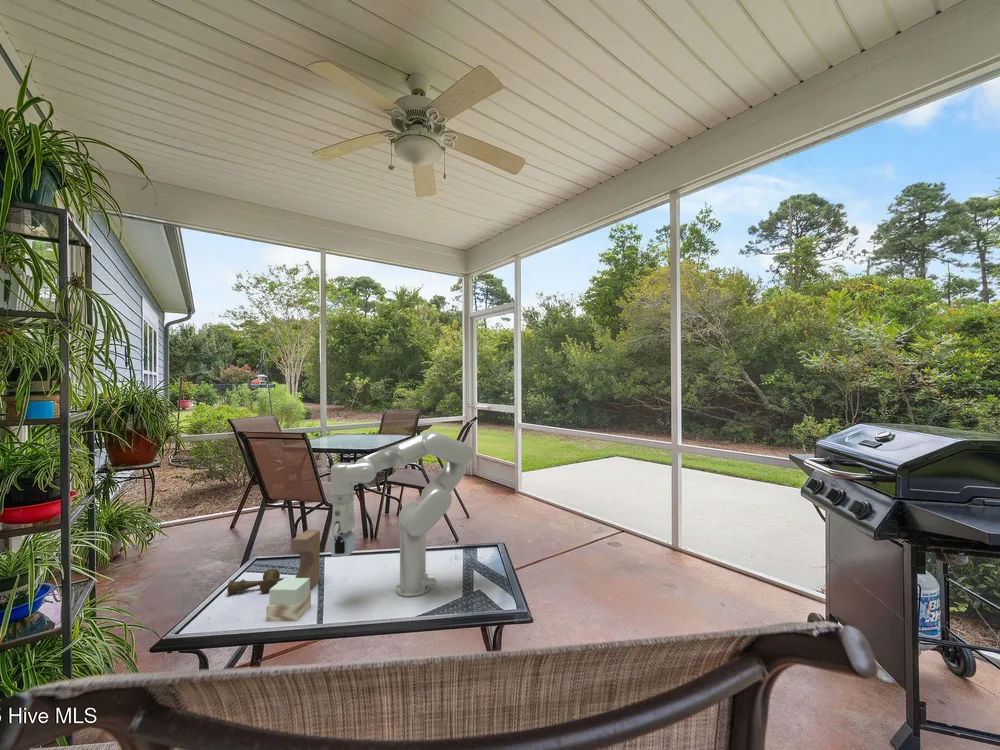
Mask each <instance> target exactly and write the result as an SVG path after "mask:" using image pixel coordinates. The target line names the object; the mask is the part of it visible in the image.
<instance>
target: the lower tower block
mask: <svg viewBox="0 0 1000 750" xmlns="http://www.w3.org/2000/svg"><path fill="white" fill-rule="evenodd" d="M311 606H312V592H311V591H310V593H309V594H308V595H307V596H306V597H305V598H304V599H303V600H302V601H301V602H299V603H298V604H297V605H296V606H290V605H269V604H267V605H266V607H265V608H266V609H265V611H266V615H265V617H266V618H265V619H266V622H297V621H298V620H300V618H301V617H302V616H303V615H304V614H305V612H307V611H308V610H309V608H311Z"/></svg>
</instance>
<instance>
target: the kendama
mask: <svg viewBox="0 0 1000 750" xmlns="http://www.w3.org/2000/svg"><path fill="white" fill-rule="evenodd" d="M284 578H285V577H281V574H280V571H279V569H276V568H269V569H267V570H266V571H264V573H263V575H262V580H245V579H244V578H242V579H241V580H239V581H238V580H237V581H234V580H232V579H231V580H229V582H228V584H227V595H228V596H229V595H230V596H232V595H233V594H235V593H239V592H240V593H243V592H244V591H246V590H248V589H251V588H255V587H258V586H259V591H260V592H261V593H262V594H264V595H266V594H269V589H271V588H272V587H273V586H275V585H276V584H277V583H279V582H280V581H281V580H283V579H284ZM231 594H232V595H231Z"/></svg>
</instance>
